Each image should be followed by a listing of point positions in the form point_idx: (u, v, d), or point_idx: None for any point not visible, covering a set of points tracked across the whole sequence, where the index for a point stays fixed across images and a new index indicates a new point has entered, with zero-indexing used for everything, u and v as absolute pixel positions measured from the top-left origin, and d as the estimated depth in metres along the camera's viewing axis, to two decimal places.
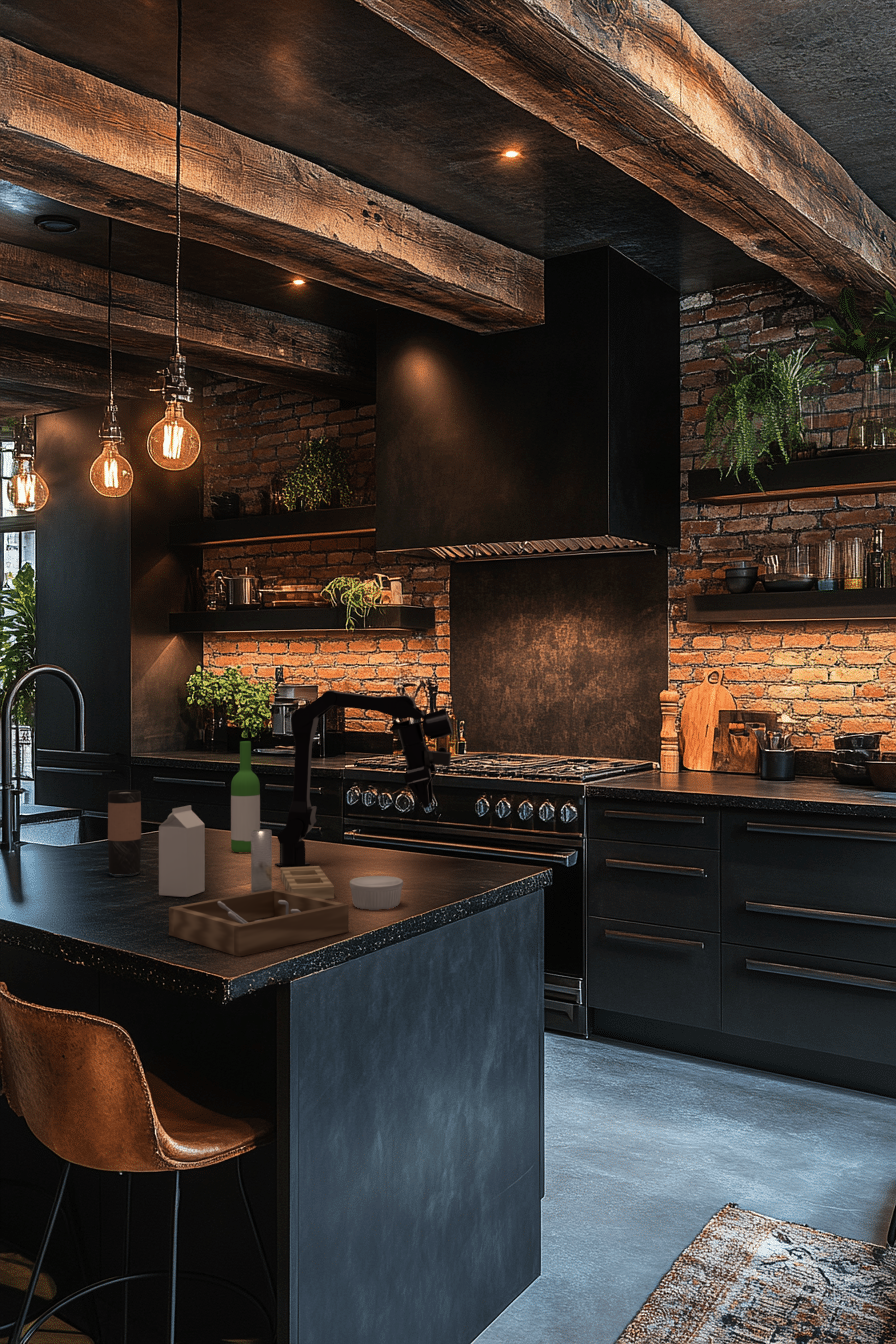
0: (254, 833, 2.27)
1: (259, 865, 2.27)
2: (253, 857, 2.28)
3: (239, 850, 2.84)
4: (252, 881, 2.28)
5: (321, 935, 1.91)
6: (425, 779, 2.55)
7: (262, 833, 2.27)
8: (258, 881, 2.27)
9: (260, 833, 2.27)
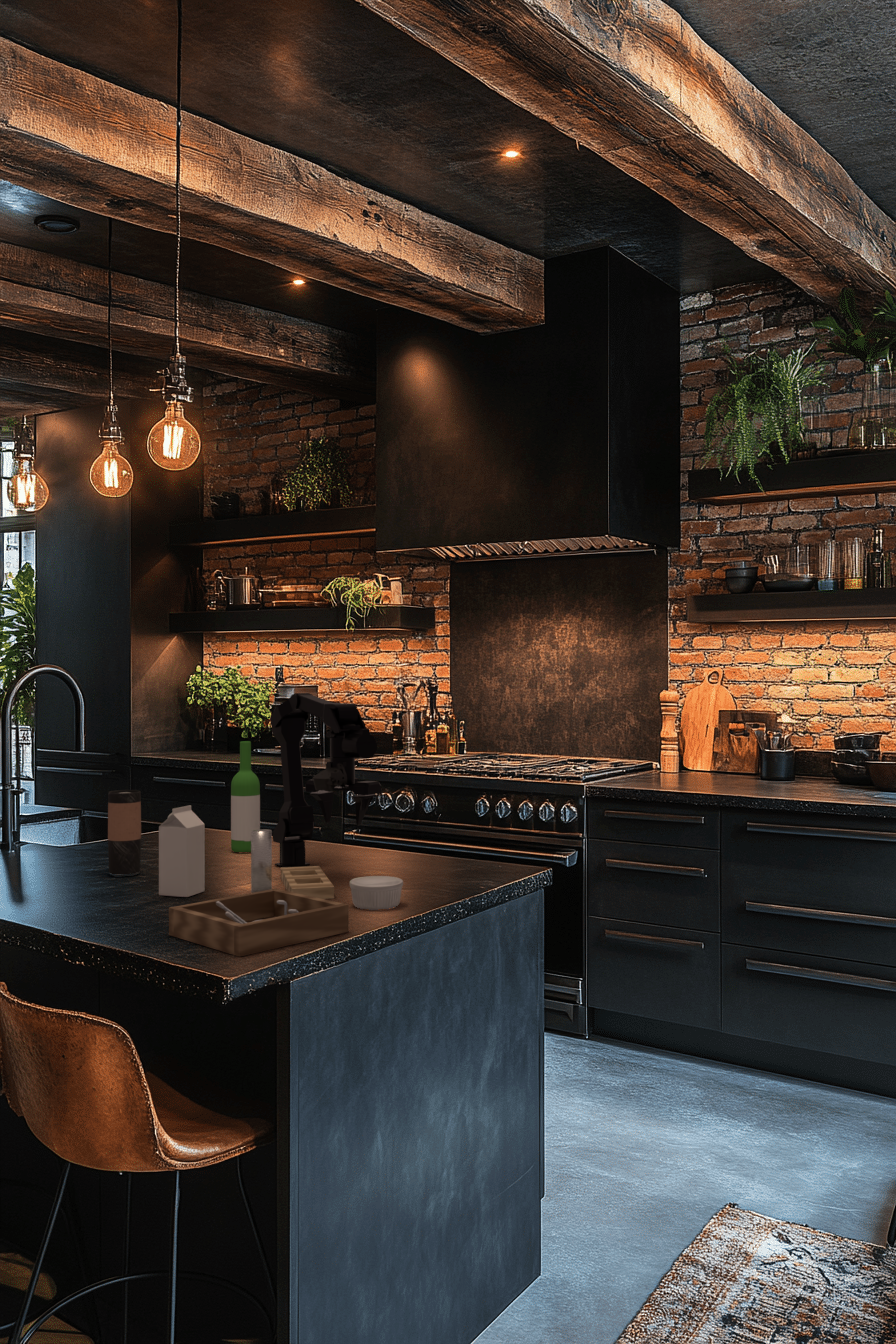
0: (254, 833, 2.27)
1: (259, 865, 2.27)
2: (253, 857, 2.28)
3: (239, 850, 2.84)
4: (252, 881, 2.28)
5: (321, 935, 1.91)
6: None
7: (262, 833, 2.27)
8: (258, 881, 2.27)
9: (260, 833, 2.27)
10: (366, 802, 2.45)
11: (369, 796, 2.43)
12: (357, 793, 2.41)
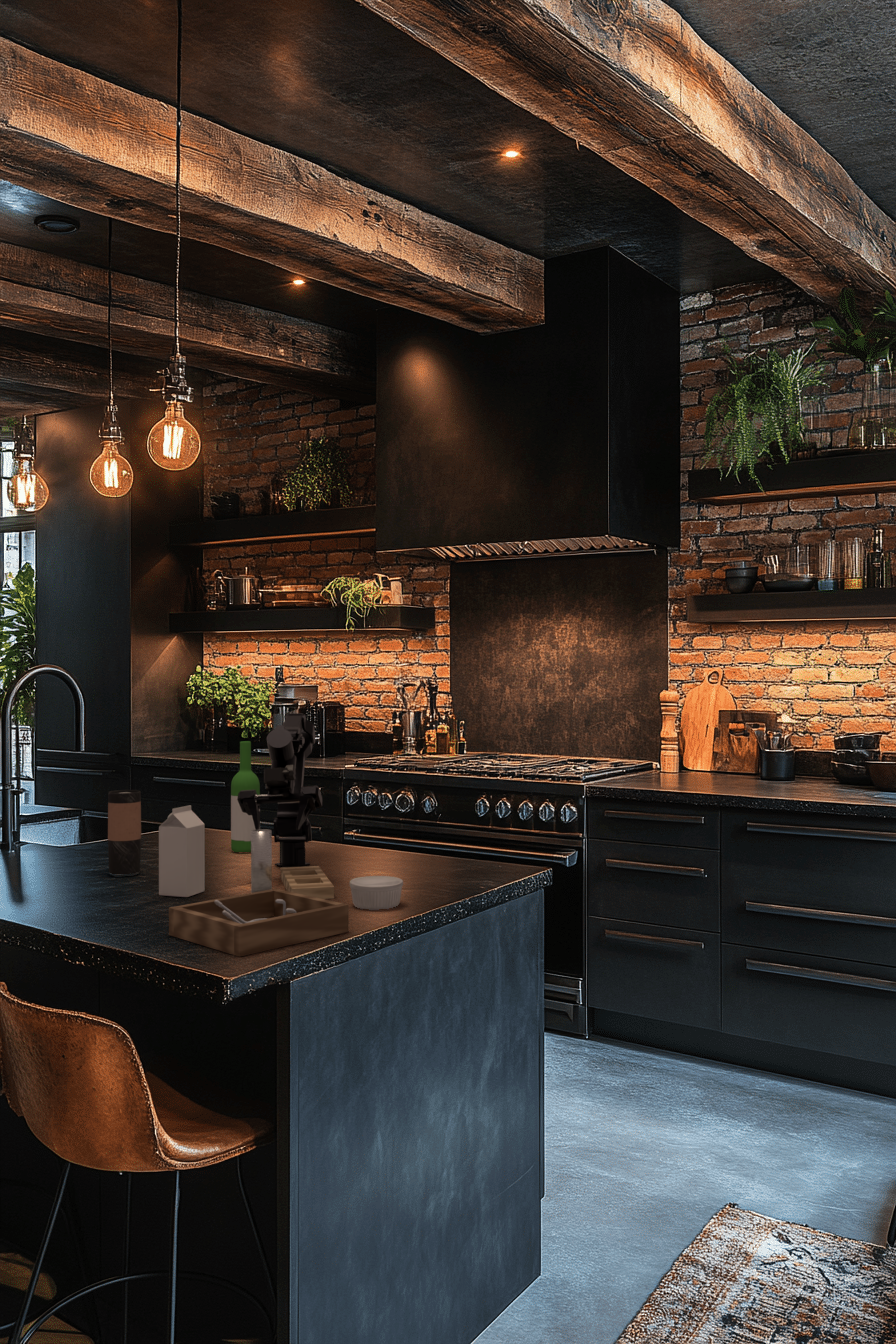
0: (254, 833, 2.27)
1: (259, 865, 2.27)
2: (253, 857, 2.28)
3: (239, 850, 2.84)
4: (252, 881, 2.28)
5: (321, 935, 1.91)
6: None
7: (262, 833, 2.27)
8: (258, 881, 2.27)
9: (260, 833, 2.27)
10: (306, 812, 2.42)
11: (314, 802, 2.42)
12: (306, 792, 2.40)
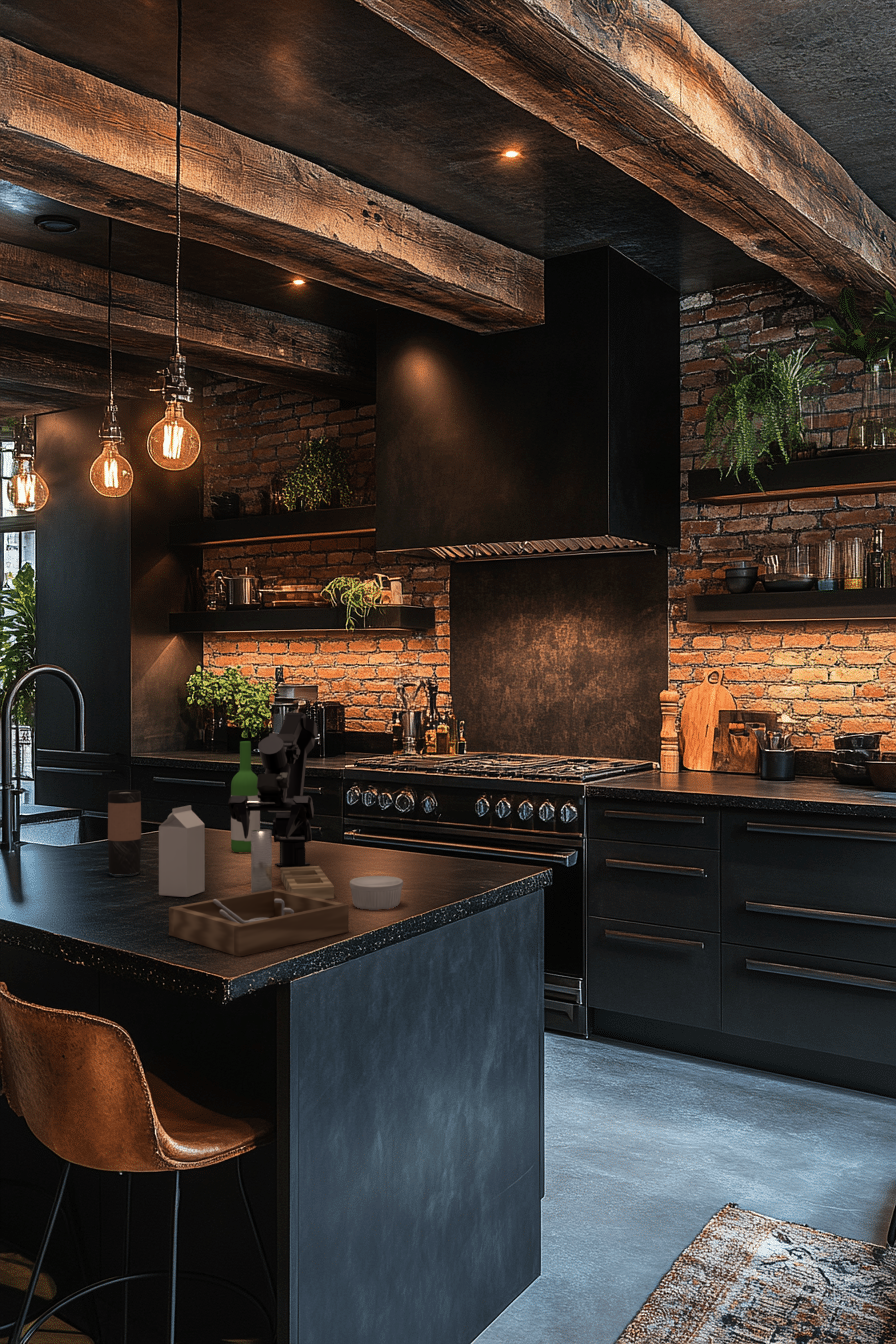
0: (254, 833, 2.27)
1: (259, 865, 2.27)
2: (253, 857, 2.28)
3: (239, 850, 2.84)
4: (252, 881, 2.28)
5: (321, 935, 1.91)
6: None
7: (262, 833, 2.27)
8: (258, 881, 2.27)
9: (260, 833, 2.27)
10: (296, 822, 2.39)
11: (305, 812, 2.39)
12: (298, 801, 2.37)
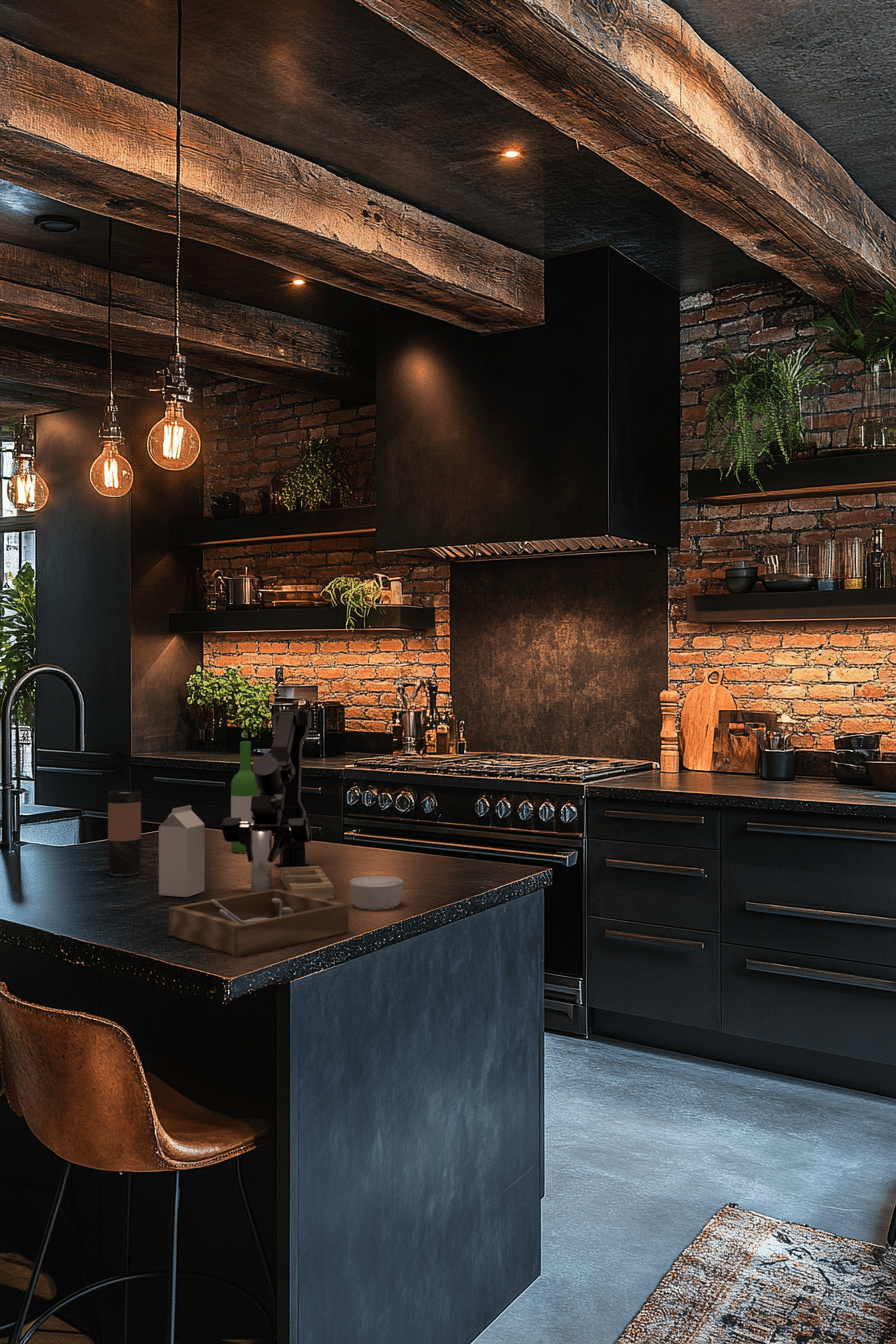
0: (254, 833, 2.27)
1: (259, 865, 2.27)
2: (253, 857, 2.28)
3: (239, 850, 2.84)
4: (252, 881, 2.28)
5: (321, 935, 1.91)
6: None
7: (262, 833, 2.27)
8: (258, 881, 2.27)
9: (260, 833, 2.27)
10: (281, 845, 2.32)
11: (290, 835, 2.32)
12: (293, 824, 2.31)
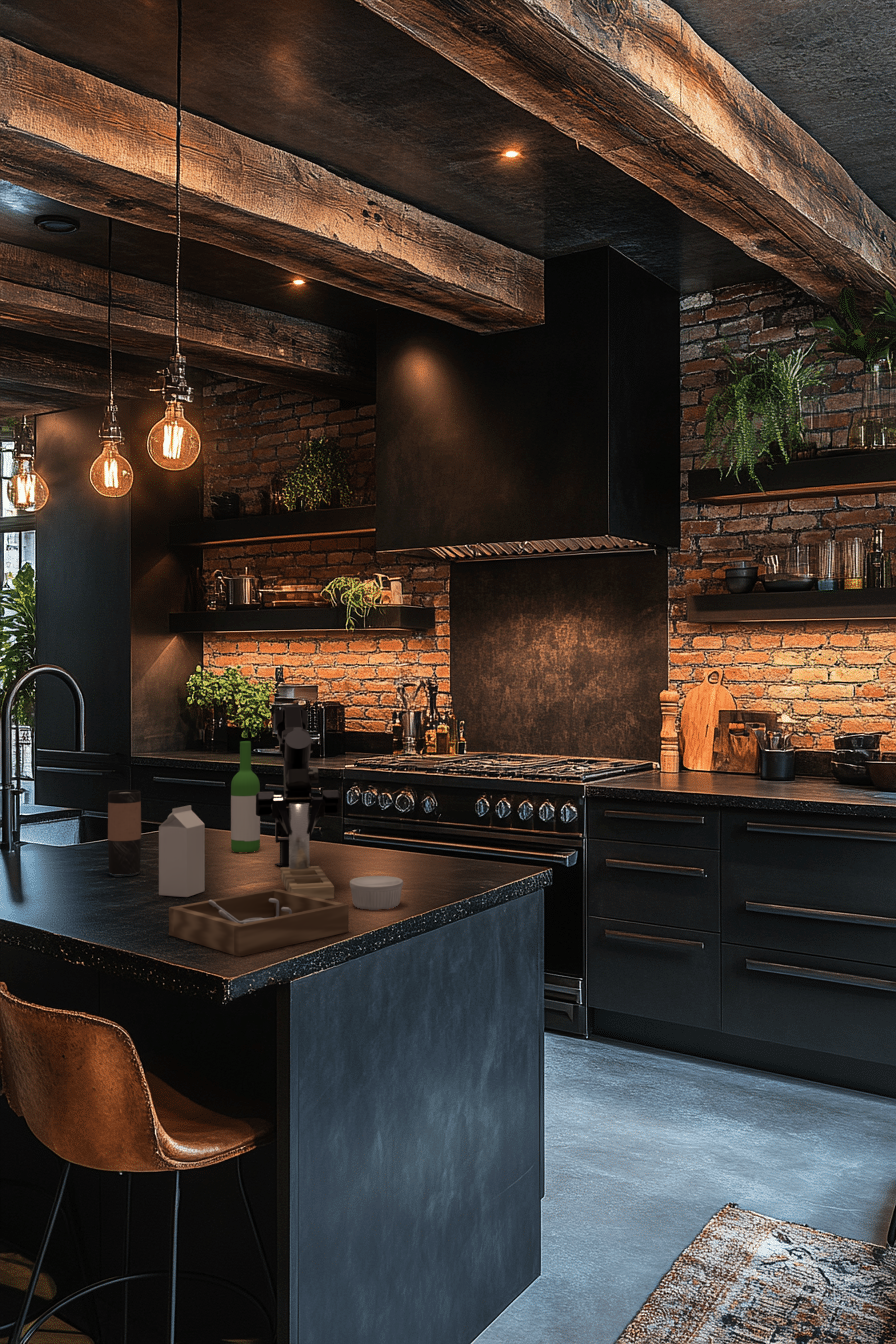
0: (294, 806, 2.30)
1: (299, 837, 2.29)
2: (293, 830, 2.30)
3: (239, 850, 2.84)
4: (291, 853, 2.30)
5: (321, 935, 1.91)
6: None
7: (302, 805, 2.30)
8: (298, 853, 2.29)
9: (300, 806, 2.29)
10: (316, 817, 2.35)
11: (324, 807, 2.36)
12: (329, 796, 2.35)
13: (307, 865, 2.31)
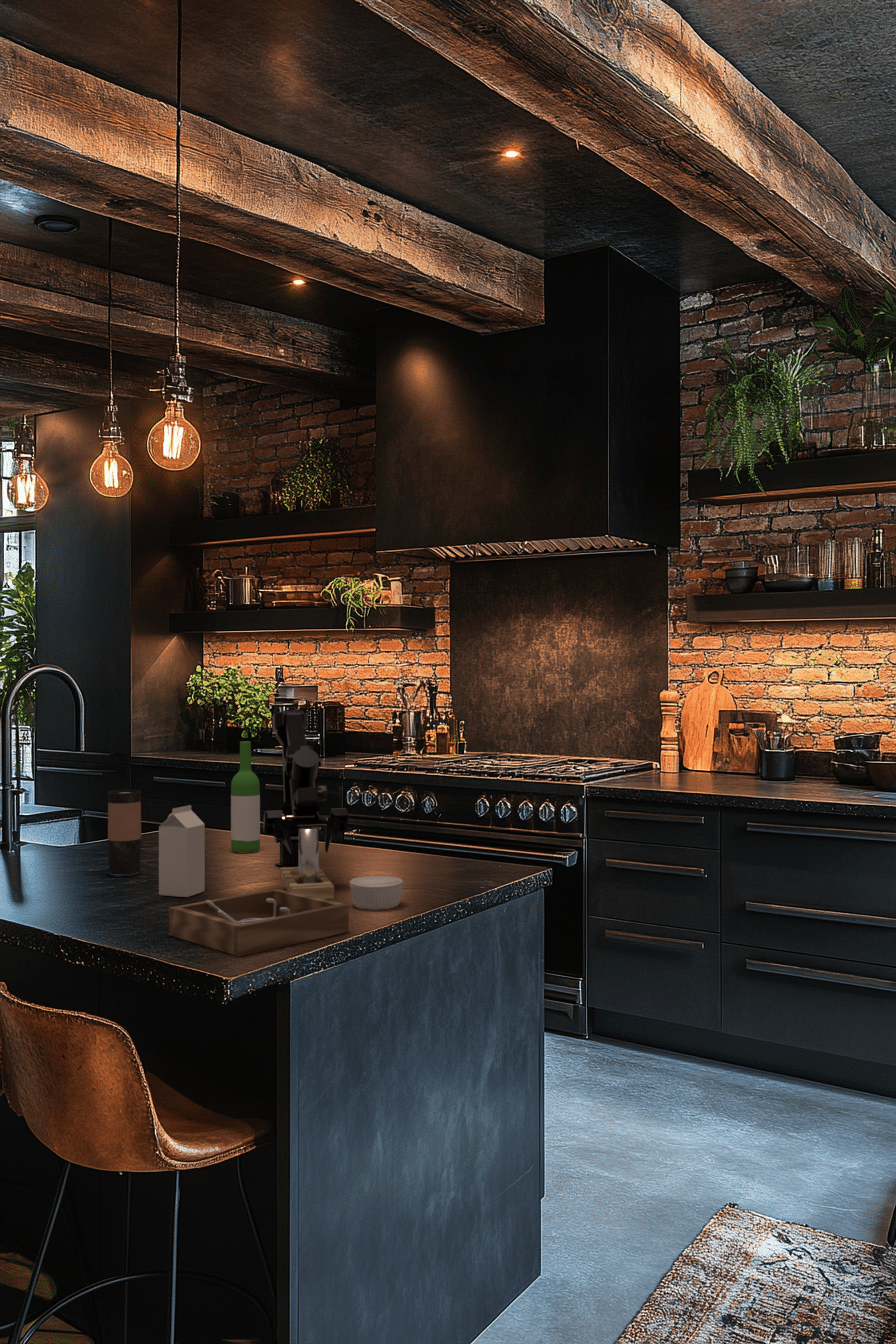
0: (304, 831, 2.31)
1: (309, 862, 2.30)
2: (303, 854, 2.31)
3: (239, 850, 2.84)
4: (301, 878, 2.31)
5: (321, 935, 1.91)
6: None
7: (312, 830, 2.31)
8: (308, 878, 2.30)
9: (310, 830, 2.31)
10: (330, 835, 2.37)
11: None
12: (337, 814, 2.36)
13: None
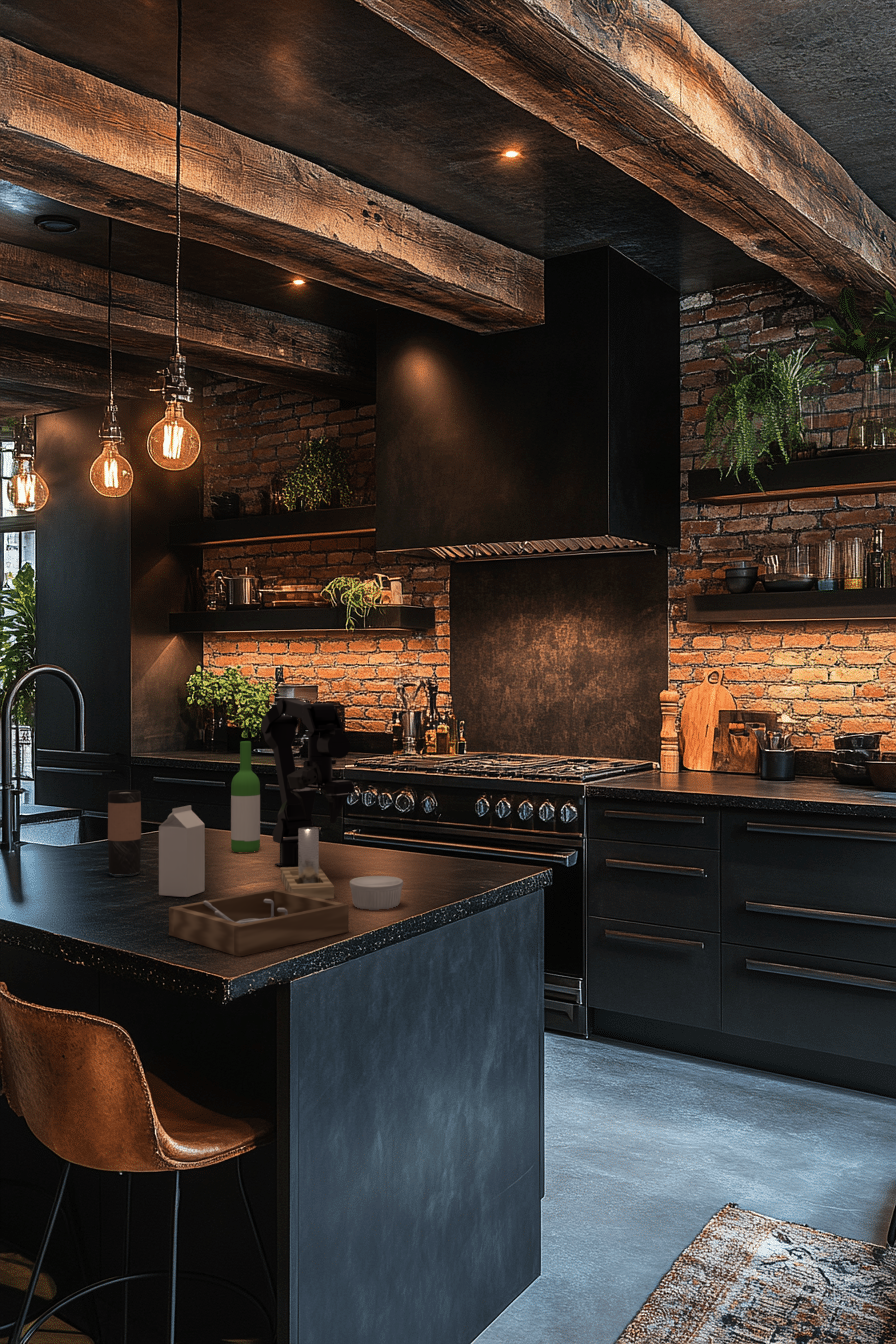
0: (304, 831, 2.30)
1: (309, 862, 2.30)
2: (303, 855, 2.30)
3: (239, 850, 2.84)
4: (301, 878, 2.31)
5: (321, 935, 1.91)
6: None
7: (312, 831, 2.31)
8: (308, 879, 2.30)
9: (310, 831, 2.30)
10: (340, 801, 2.48)
11: (341, 795, 2.46)
12: (328, 792, 2.45)
13: None
